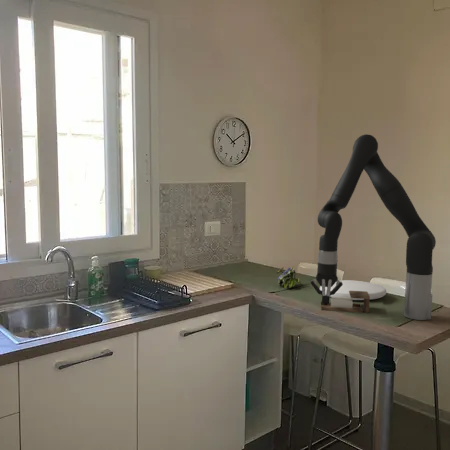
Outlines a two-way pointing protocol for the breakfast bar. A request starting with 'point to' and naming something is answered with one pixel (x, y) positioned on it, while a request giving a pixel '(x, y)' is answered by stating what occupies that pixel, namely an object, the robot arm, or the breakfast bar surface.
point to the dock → (356, 307)
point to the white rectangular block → (341, 302)
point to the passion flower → (288, 274)
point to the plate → (358, 289)
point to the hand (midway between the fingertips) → (325, 304)
